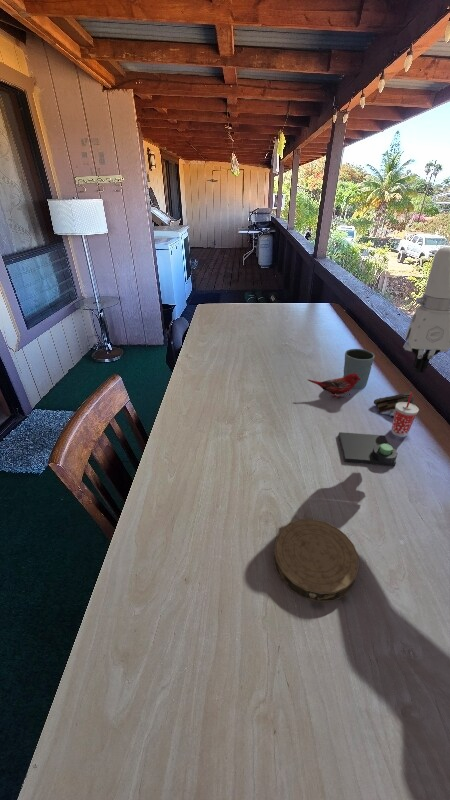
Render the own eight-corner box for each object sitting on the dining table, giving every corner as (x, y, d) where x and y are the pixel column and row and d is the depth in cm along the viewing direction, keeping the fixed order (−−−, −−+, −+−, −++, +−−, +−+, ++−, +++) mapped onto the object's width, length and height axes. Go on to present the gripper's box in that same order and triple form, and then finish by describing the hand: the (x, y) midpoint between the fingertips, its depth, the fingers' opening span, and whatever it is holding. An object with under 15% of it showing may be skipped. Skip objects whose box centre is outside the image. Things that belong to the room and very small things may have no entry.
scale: (385, 439, 103) (387, 431, 101) (397, 467, 92) (400, 459, 91) (338, 435, 104) (339, 427, 103) (344, 463, 94) (346, 454, 92)
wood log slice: (369, 558, 70) (372, 548, 68) (332, 621, 59) (334, 612, 58) (300, 516, 79) (301, 506, 77) (257, 564, 69) (258, 555, 67)
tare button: (389, 449, 95) (390, 443, 94) (392, 456, 92) (393, 451, 91) (377, 448, 95) (379, 443, 94) (380, 455, 93) (382, 450, 92)
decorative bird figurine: (357, 401, 121) (362, 376, 116) (305, 396, 124) (308, 371, 119) (356, 397, 123) (361, 372, 118) (305, 392, 127) (308, 368, 121)
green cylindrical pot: (368, 391, 127) (375, 361, 121) (339, 387, 130) (344, 357, 124) (367, 379, 135) (374, 350, 129) (340, 375, 138) (345, 347, 132)
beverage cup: (399, 424, 109) (411, 385, 102) (415, 435, 104) (428, 395, 97) (384, 429, 107) (395, 389, 100) (399, 440, 102) (411, 399, 95)
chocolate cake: (372, 416, 114) (407, 401, 106) (371, 400, 118) (405, 385, 110) (389, 431, 117) (425, 418, 109) (387, 416, 122) (422, 402, 114)
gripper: (411, 306, 83) (393, 375, 92) (479, 308, 81) (454, 378, 90) (402, 298, 89) (386, 363, 99) (465, 299, 87) (442, 366, 97)
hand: (418, 370), depth 95 cm, fingers closed
